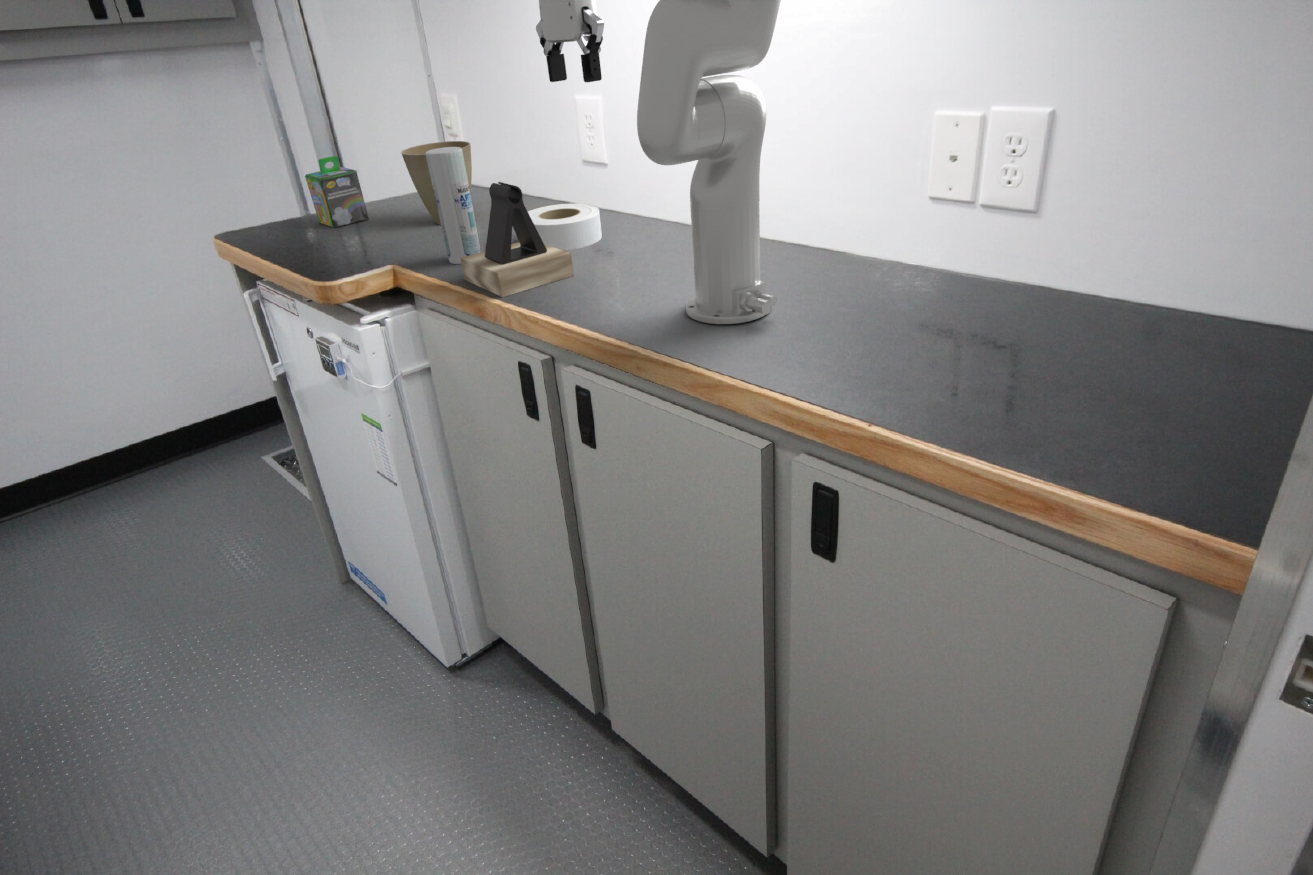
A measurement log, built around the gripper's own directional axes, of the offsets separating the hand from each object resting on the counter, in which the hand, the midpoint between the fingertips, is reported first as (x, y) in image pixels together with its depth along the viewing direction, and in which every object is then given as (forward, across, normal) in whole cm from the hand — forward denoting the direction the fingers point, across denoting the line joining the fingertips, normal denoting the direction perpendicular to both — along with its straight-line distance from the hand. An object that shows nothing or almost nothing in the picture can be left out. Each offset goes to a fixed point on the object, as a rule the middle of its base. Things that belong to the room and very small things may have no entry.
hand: (575, 81), depth 129 cm
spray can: (+30, +23, +15) cm, 40 cm away
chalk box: (+29, +78, +17) cm, 85 cm away
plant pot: (+30, +54, +1) cm, 62 cm away
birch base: (+30, +4, +15) cm, 34 cm away
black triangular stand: (+26, +4, +14) cm, 30 cm away
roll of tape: (+30, +17, -4) cm, 35 cm away
